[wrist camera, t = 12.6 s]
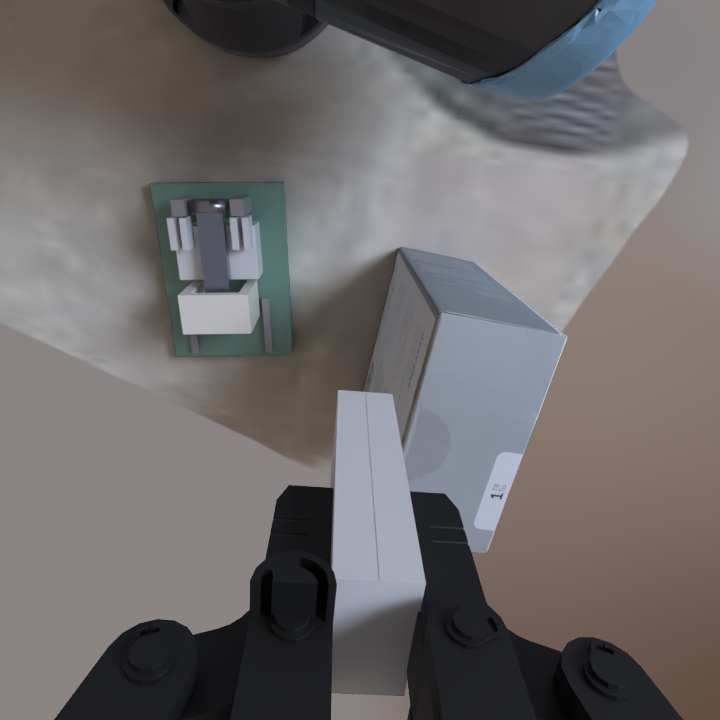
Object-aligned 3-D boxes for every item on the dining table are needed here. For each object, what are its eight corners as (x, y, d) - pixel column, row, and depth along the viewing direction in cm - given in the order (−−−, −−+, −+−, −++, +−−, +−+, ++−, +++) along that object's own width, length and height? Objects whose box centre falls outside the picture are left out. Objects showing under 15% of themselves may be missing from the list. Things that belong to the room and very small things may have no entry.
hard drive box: (435, 411, 52) (485, 559, 34) (360, 398, 51) (370, 542, 33) (480, 260, 46) (571, 338, 28) (397, 242, 45) (434, 311, 27)
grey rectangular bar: (194, 198, 40) (189, 199, 39) (227, 198, 40) (224, 198, 39) (206, 312, 43) (203, 316, 42) (238, 311, 43) (235, 315, 42)
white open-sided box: (194, 280, 44) (177, 295, 40) (257, 279, 45) (247, 294, 40) (198, 315, 46) (183, 334, 41) (260, 315, 46) (251, 333, 41)
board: (154, 182, 43) (131, 187, 38) (283, 181, 43) (276, 186, 38) (179, 351, 49) (162, 374, 44) (293, 349, 49) (287, 372, 44)
